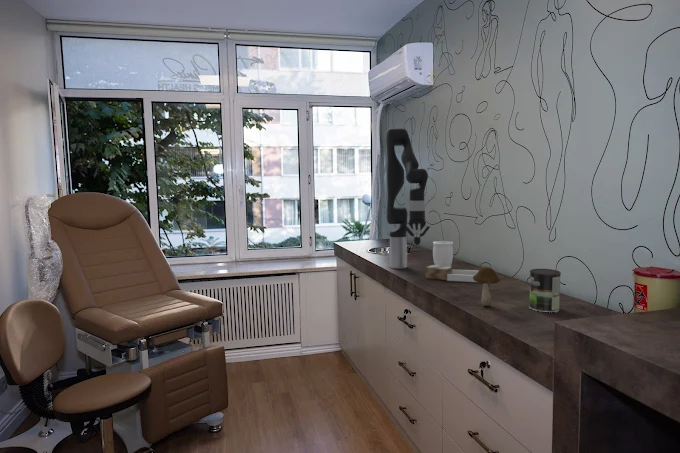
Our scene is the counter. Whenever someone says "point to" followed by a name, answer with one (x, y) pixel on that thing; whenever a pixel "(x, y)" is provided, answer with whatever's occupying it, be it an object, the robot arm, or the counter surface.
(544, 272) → the coffee can
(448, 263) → the jar
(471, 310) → the counter surface
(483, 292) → the mushroom
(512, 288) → the counter surface
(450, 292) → the counter surface
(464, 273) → the bay
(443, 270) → the brown and white block
